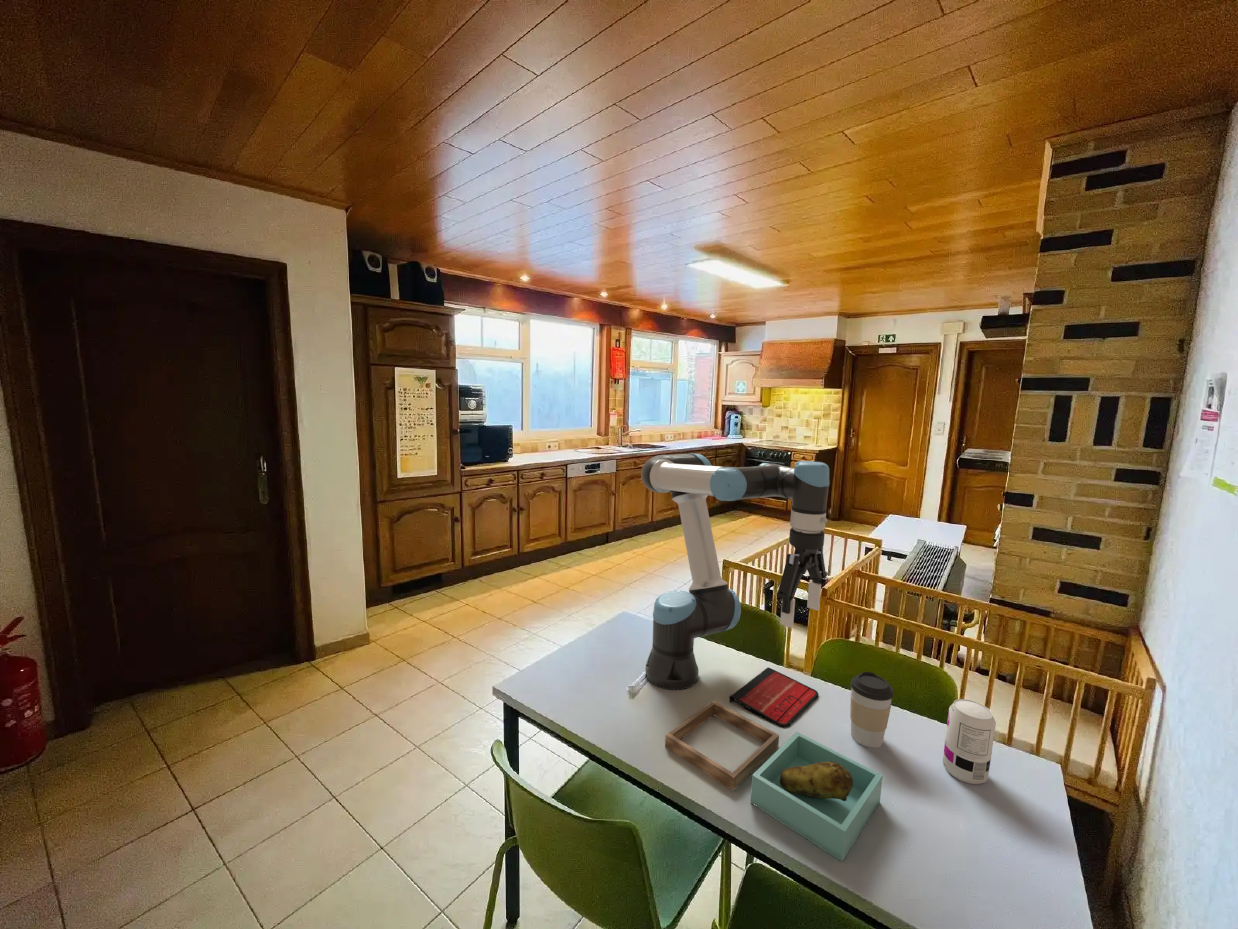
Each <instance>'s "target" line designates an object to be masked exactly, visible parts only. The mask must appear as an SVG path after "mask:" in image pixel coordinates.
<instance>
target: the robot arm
mask: <svg viewBox="0 0 1238 929" xmlns="http://www.w3.org/2000/svg"><path fill="white" fill-rule="evenodd" d="M640 472H641V473H640V477H641V481H642V483H643V485H644V486H645V488H647V489H648V490H649V491H650V492H653V493H658V494H662V493H663V494H665V493H666V494H667V493H668V494H669V493H670V494H671V500H672V501H673V502H675V503H676V504H677V505H678V510H679V511H678V512H679V515H680V516H679V517H680V522H681V526H682V527H681V528H682V533H683V538H684V543H685V547H686V552H687V553H686V554H687V558H688V559H687V560H688V564H689V570H690V575H691V582H692V583H691V584H690V586H689V587H688V591H685V590H679V591H678V590H671V591H667V592H663V593H662V594H660V595H659V596H658V597H656V599H655V601H654V606H653V611H652V619H653V621H652V622H653V623H652V647H651V649H650V652H649V655H648V658H647V660H646V664H645V669H644V670H645V673H646V674H647V677H646V679H647V680H648V681H649V682H650V683H651V684H653V685H655V686H657V687H660V688H662V689H666V690H683V689H684V690H685V689H687V688H691V687H692V686H695V684H696V683H697V682H698V680H699V666H698V664H697V661H696V656H695V653H694V643H695V642H694V641H695V639H696V638H700V637H701V638H702V637H706V636H710V635H712V634H717V633H724V632H726V631H728V630H731V629H733V628H735V627H736V626H737V624H738V622H739V621H740V618H741V613H742V607H741V606H742V605H741V602H740V598H739V596H738V595H737V594H736V592H735V591H734V590H733V589H731V588H729V584H728V582H727V581H725V580H724V579H723V578H722V576H721V570H720V565H719V561H718V560H719V559H718V556H717V549H716V545H715V540H714V534H713V529H712V523H711V520H710V514H709V509H708V504H707V503H708V502H707V497H708V496H710V497H714V498H716V500H718V501H721V502H725V501H726V502H736V501H739V500H740V501H741V500H748V499H750V500H751V499H758V498H759V499H760V498H770V497H771V498H772V497H777V498H778V497H779V498H784V499H787V500H790V501H791V511H790V522H789V526H790V527H791V528H790V529H789V536H788V542H789V544H790V546H792V547H793V548H794V551H793V554H791V553H787V555H786V559H785V560H786V561H785V565H784V569H783V572H782V575H781V579H780V581H779V582H780V583H779V586H778V589H777V592H776V597H777V598H781V606H780V607H781V610H780V621H779V622H780V623H779V624H780V625H782V626H786V627H788V628H790V629H792V628H793V627H794V620H795V607H796V606H795V605H796V599H795V598H794V597H795V595H796V593H797V589H798V587H799V585H800V582H801V579H802V578H803V575H805V574H806V573H808V575H809V578H810V581H808V588H807V589H808V592H807V603H806V604H807V605H806V608H808V609H811V610H815V611H819V610H820V606H821V605H820V602H821V591H822V584H823V585H825V584H826V582H827V579H826V578H827V572H826V571H827V570H826V565H825V559H824V544H825V532H824V530H825V528H826V523H827V522H828V518H827V505H828V504H827V503H828V496H829V495H828V494H829V488H830V482H831V481H830V467H829V465H828V464H827V463H825V462H822V461H812V460H811V461H810V460H800V461H799V460H798V461H796V462H795V464H794V467H792V466H786V465H781V464H777V463H772V462H771V463H769V462H762V463H761V464H759V465H757V466H756V465H755V466H741V467H739V466H738V467H735V466H720V465H718V466H717V465H712V464H711V462H710V460H709V459H708V458H707V457H705V456H704V455H702V454H701V453H700V454H699V453H693V452H688V453H679V454H677V453H676V454H675V453H674V454H660V455H655V456H652V457H651V458H649V459H648V460H647V461H646V462H645V463H644V464H643V466H642V468H641V471H640ZM646 674H645V675H646Z"/></svg>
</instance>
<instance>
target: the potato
mask: <svg viewBox="0 0 1238 929" xmlns="http://www.w3.org/2000/svg"><path fill="white" fill-rule="evenodd" d="M780 784H781V786H782V787H783V788H784V789H785V790H786V791H788V792H790V793H792V794H797V793H799V794H801V795H803V796H806V797H809V798H817V799H841V800H843V801H846V800H847V796H848V795H849V792H850V791H851V789H852V787H853V779H852V776H851V774H850V773H849V772H848V771H847V770H846V769H845V768H844V767H843V766H841V765H840V764H838V763H835V762H831V761H830V762H820V763H815V764H811V765H808V766H797V767H791V768H787V769H785V770H783V771H782V772H781V776H780Z"/></svg>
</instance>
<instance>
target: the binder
mask: <svg viewBox="0 0 1238 929" xmlns="http://www.w3.org/2000/svg"><path fill="white" fill-rule="evenodd" d="M818 697H819V692H818V691H817V690H816V689H814V688H811V686H808V685H806V684H803V683H802V682H800V681H798V680H796V679H794V678H792V677H790V676H787V675H786V674H784V673H782V672H779V671H777V670H775V669H773V668H771V667H767V668H765V669H764V670H763V671H761V672H759V674H757V675H756V676H754V678H752V679H750V680H749V681H748V682H747V683H746V684H744V685H743V686H742V687H740V688H739V689H738V690H736V691H735V692H734V693H732V694H731V695H729V703H732V702H733V701H736V702H738V703H740V704H741V705H742V706H741V708H742V709H743V710H746V711H747V712H749V713H751V714H753V715H755V716H757V717H759V718H762V719H764V720H765V721H767V722H769V723H772V724H774V725H776V726H778V727H781V728H788V727H790V726H791V724H792V723H793V722H794V721H795V719H797V717H798V716H799V715H800V714H801V713H803V712H804V710H805V709H806V708H807V707H809V705H810V704H812V702H814V701H816V700H817V699H818ZM743 706H744V707H743Z"/></svg>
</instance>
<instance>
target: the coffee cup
mask: <svg viewBox="0 0 1238 929" xmlns="http://www.w3.org/2000/svg"><path fill="white" fill-rule="evenodd" d="M850 689H851V691H850V710H849V711H850V715H849V716H850V718H849V719H850V736H851V738H852V739H853V740H854V741H855V742H856V743H857V744H860V745H861V746H864V747H868V748H880V747H881V746H882V745H883V744H884V739H885V734H886V730H887V727H888V723H889V718H890V712H891V708H892V699H893V697H894V688H893V687H892V686H891V684H889V682H888V681H887V680H886V679H885V678H884V677H881V676H879V675H877V674H876V673H874V672H871V671H863V672H861V673H859V674H857V675H856V676H853V677H852V678H851V681H850Z"/></svg>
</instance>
